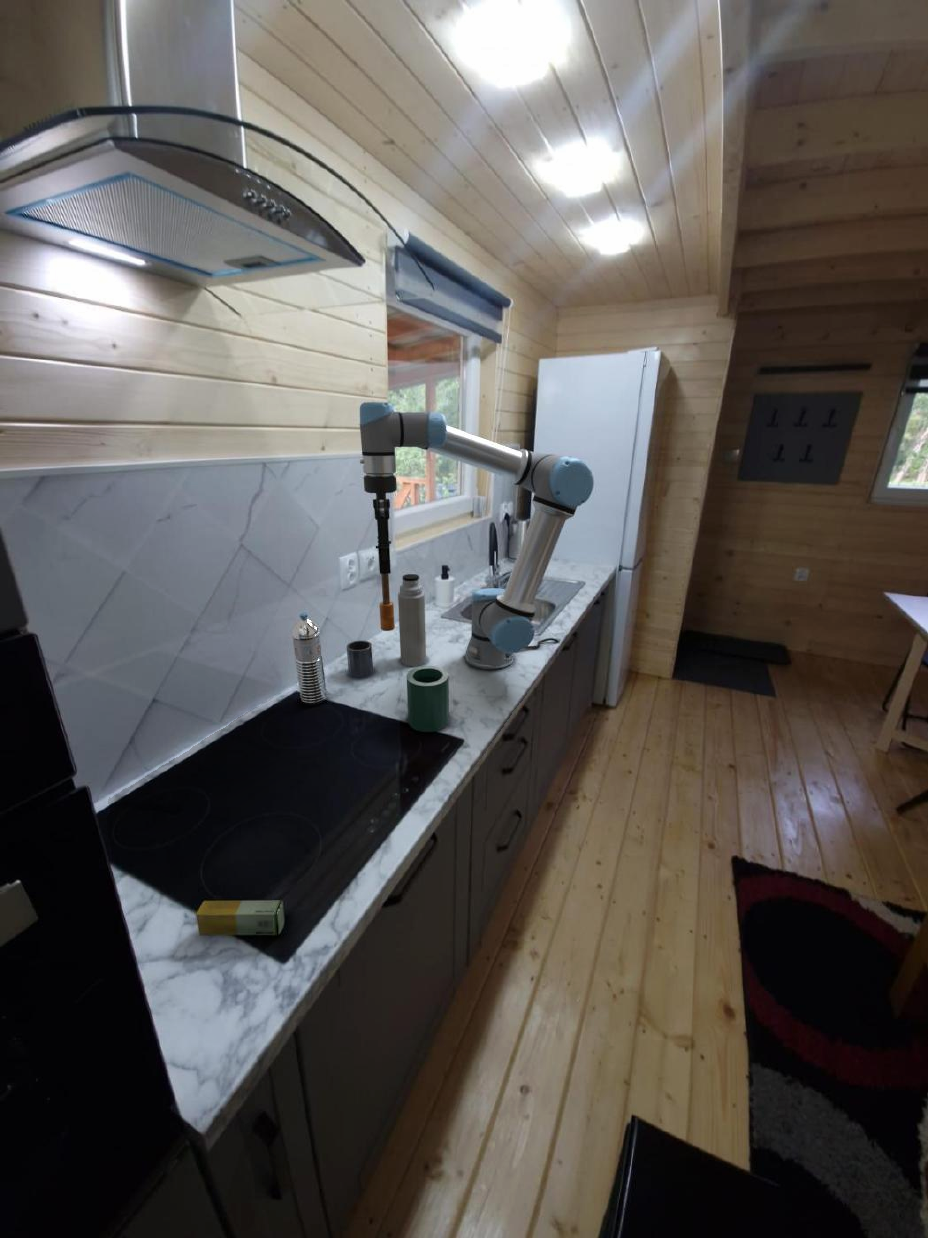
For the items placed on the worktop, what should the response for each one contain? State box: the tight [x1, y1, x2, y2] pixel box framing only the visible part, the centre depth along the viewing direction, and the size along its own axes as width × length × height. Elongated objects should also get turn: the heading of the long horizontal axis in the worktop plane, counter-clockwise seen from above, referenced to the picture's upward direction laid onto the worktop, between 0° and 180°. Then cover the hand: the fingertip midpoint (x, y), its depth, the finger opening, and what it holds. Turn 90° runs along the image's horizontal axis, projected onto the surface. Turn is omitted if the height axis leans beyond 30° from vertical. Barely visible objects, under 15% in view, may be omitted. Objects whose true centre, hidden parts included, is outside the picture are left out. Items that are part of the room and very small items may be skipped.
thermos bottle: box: [397, 573, 427, 667], centre depth 151 cm, size 8×8×28 cm
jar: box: [405, 665, 450, 733], centre depth 123 cm, size 10×10×13 cm
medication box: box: [195, 899, 286, 936], centre depth 74 cm, size 12×3×4 cm, turn 92°
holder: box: [346, 640, 374, 679], centre depth 147 cm, size 7×7×9 cm
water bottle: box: [291, 612, 328, 707], centre depth 129 cm, size 7×7×25 cm
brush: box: [378, 574, 396, 632], centre depth 125 cm, size 4×4×25 cm
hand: (385, 571), depth 124 cm, fingers closed on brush, 2 cm apart
